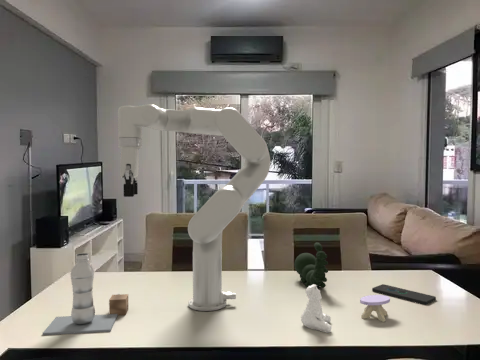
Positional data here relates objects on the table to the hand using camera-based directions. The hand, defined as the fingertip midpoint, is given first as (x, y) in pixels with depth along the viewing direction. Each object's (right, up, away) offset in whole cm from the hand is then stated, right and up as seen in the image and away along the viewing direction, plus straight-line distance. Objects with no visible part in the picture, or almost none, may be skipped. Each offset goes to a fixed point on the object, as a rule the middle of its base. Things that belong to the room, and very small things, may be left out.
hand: (130, 195), depth 136 cm
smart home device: (+94, -37, +9) cm, 101 cm away
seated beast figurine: (+58, -37, -18) cm, 71 cm away
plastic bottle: (-9, -37, -17) cm, 41 cm away
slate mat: (-10, -37, -17) cm, 42 cm away
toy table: (+78, -37, -11) cm, 87 cm away
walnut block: (-2, -37, -7) cm, 37 cm away
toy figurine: (+64, -36, +23) cm, 77 cm away
